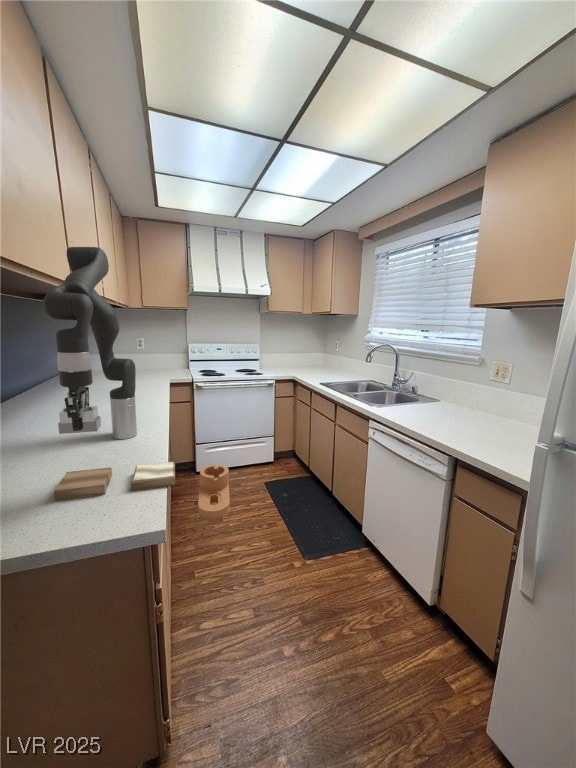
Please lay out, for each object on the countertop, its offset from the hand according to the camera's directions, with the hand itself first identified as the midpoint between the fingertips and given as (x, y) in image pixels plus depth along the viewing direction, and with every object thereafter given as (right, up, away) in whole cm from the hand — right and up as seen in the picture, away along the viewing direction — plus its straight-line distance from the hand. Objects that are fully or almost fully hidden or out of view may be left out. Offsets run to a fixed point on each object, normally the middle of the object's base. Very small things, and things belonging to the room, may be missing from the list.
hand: (80, 426), depth 87 cm
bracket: (+38, -22, +1) cm, 44 cm away
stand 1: (-1, -19, +4) cm, 19 cm away
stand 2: (+17, -18, +10) cm, 27 cm away
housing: (0, -1, 0) cm, 1 cm away
